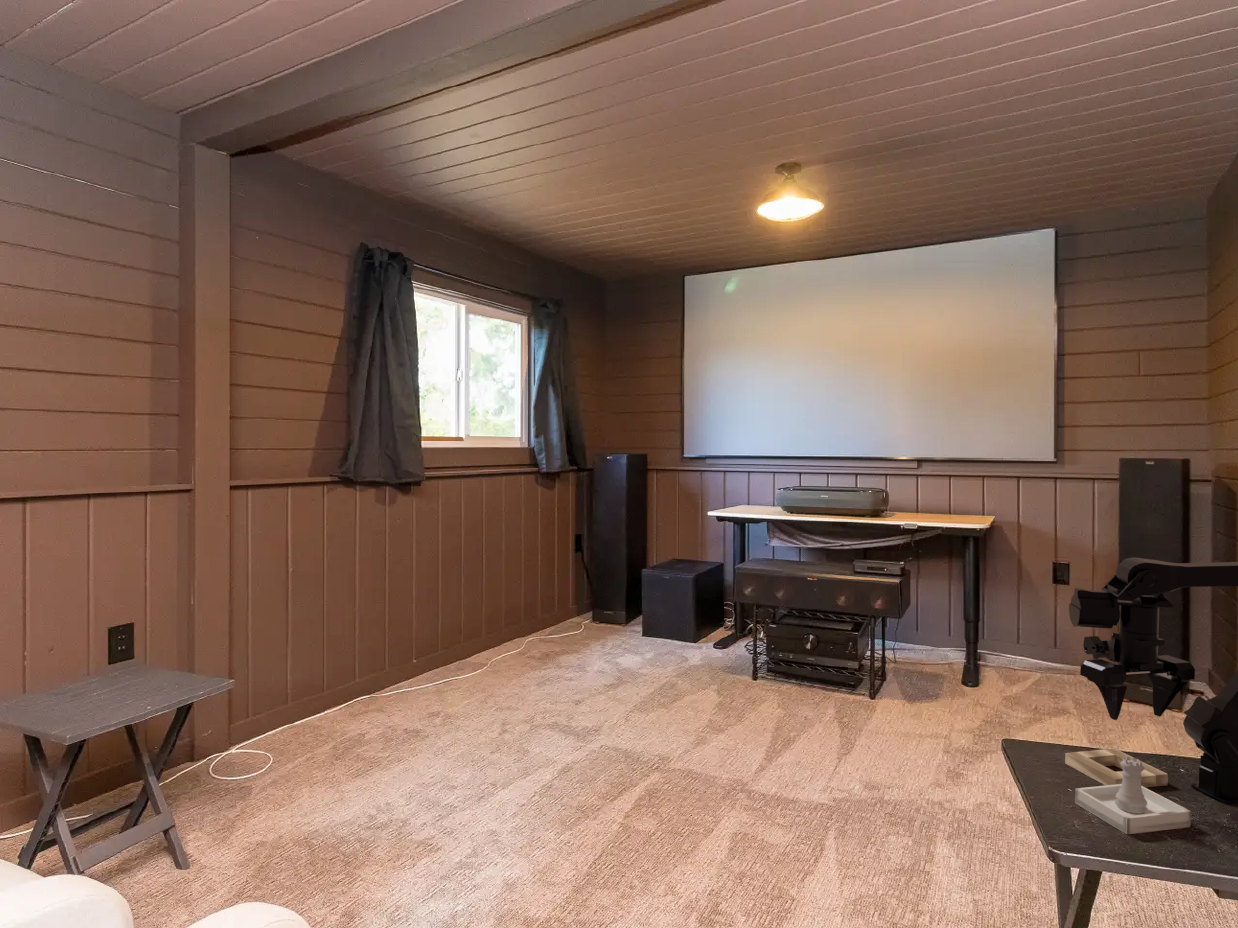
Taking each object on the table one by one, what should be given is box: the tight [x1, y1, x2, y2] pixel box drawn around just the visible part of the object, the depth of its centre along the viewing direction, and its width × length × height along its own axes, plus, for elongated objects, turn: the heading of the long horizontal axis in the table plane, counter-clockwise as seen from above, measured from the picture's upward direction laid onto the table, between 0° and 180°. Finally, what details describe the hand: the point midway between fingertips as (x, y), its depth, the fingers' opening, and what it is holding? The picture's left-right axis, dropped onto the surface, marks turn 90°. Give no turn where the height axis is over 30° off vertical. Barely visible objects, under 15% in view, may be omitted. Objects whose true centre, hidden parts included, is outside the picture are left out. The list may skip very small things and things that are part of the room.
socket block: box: [1064, 748, 1169, 788], centre depth 135 cm, size 11×11×2 cm
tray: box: [1074, 784, 1192, 835], centre depth 120 cm, size 12×10×2 cm
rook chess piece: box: [1115, 756, 1148, 814], centre depth 120 cm, size 4×4×8 cm
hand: (1135, 717), depth 131 cm, fingers open, 9 cm apart
